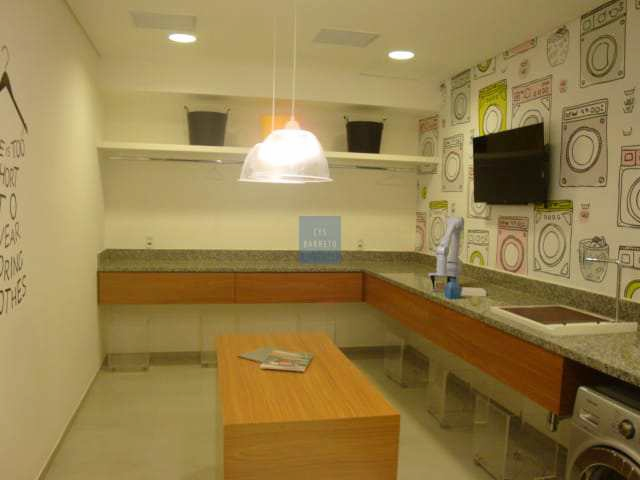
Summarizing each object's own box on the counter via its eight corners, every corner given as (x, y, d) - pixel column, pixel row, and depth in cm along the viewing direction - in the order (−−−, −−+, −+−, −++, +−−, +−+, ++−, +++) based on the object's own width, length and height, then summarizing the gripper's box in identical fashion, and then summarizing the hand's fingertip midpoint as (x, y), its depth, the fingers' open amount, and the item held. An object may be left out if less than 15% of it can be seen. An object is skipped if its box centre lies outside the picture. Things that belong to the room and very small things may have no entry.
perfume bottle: (450, 299, 284) (451, 277, 283) (444, 297, 290) (445, 275, 289) (460, 299, 286) (461, 277, 285) (454, 296, 292) (455, 275, 291)
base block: (461, 292, 311) (461, 287, 310) (482, 293, 309) (482, 288, 309) (464, 295, 299) (464, 290, 299) (485, 296, 297) (486, 291, 297)
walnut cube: (435, 291, 309) (436, 282, 309) (444, 291, 309) (444, 283, 308) (436, 292, 304) (436, 284, 304) (445, 293, 304) (445, 284, 303)
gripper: (429, 266, 302) (428, 289, 303) (455, 267, 300) (453, 291, 301) (428, 265, 309) (427, 287, 310) (453, 266, 307) (452, 288, 308)
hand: (440, 289), depth 306 cm, fingers open, 7 cm apart
